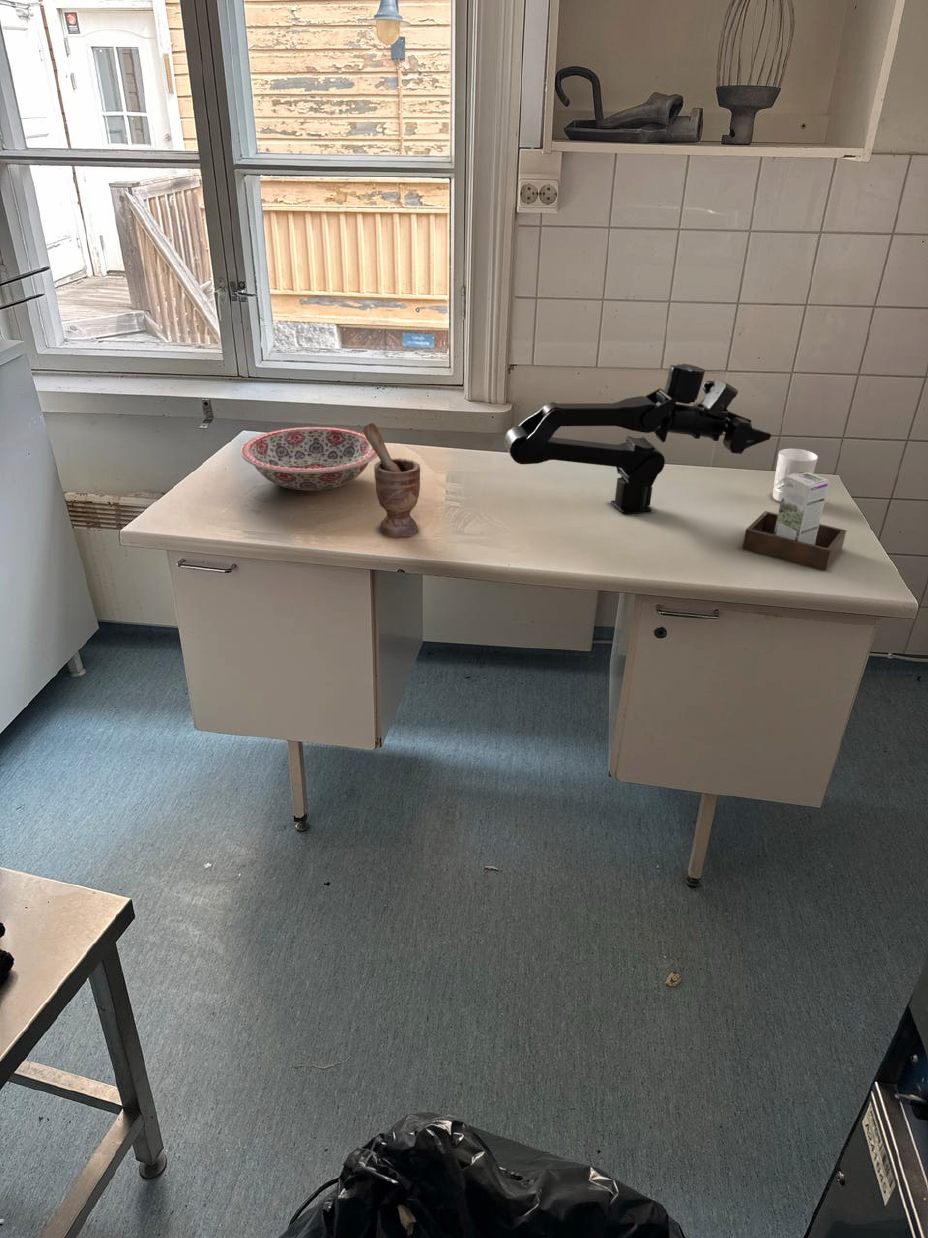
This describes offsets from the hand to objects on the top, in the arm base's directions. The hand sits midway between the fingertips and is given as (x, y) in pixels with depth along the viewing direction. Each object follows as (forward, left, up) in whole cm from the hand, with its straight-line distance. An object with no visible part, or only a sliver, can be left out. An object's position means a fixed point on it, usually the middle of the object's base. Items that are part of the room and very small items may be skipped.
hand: (760, 429), depth 184 cm
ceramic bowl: (-86, +34, -16) cm, 94 cm away
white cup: (+11, 0, -16) cm, 20 cm away
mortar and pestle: (-76, +6, -16) cm, 78 cm away
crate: (-5, -22, -16) cm, 28 cm away
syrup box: (-5, -22, -16) cm, 28 cm away
